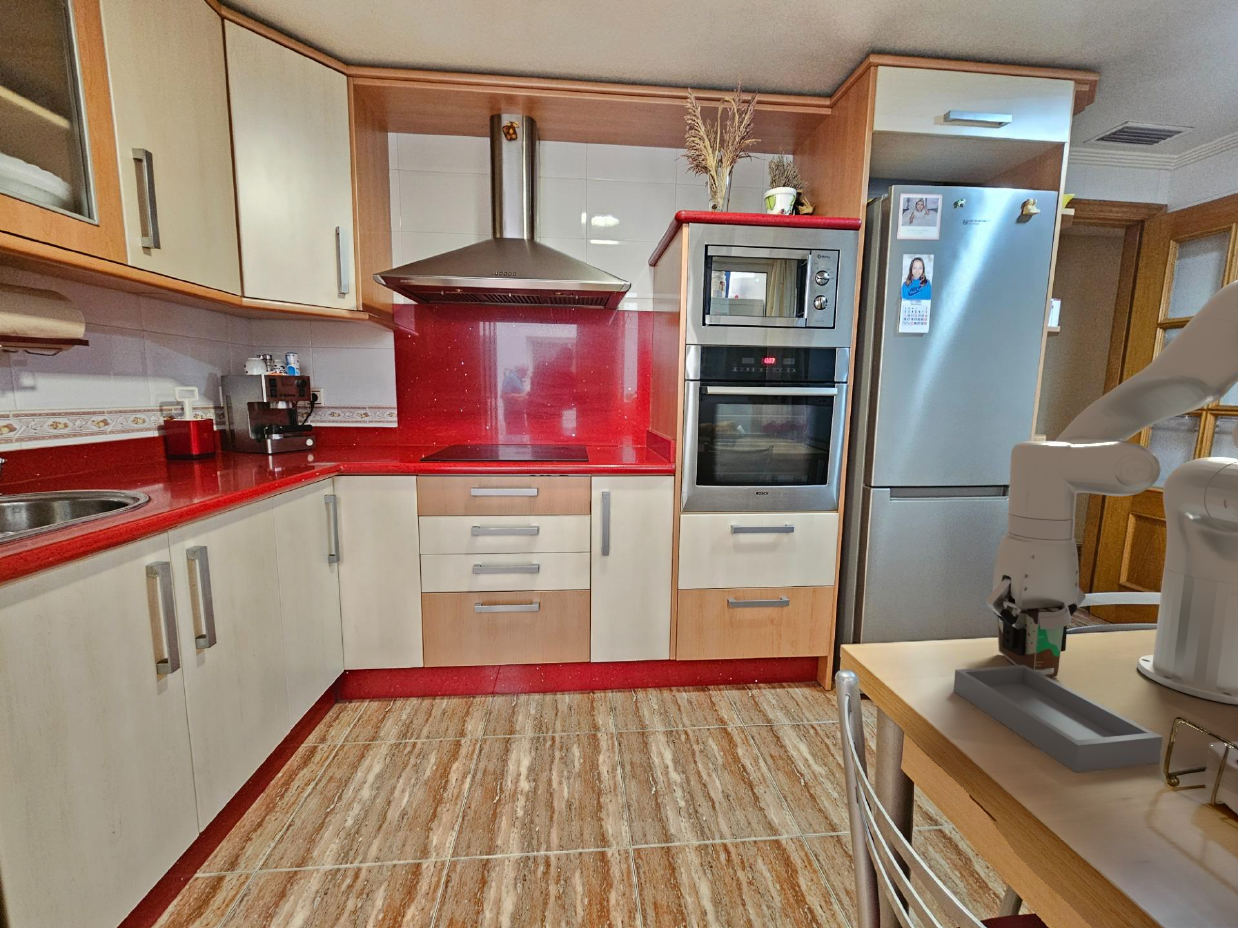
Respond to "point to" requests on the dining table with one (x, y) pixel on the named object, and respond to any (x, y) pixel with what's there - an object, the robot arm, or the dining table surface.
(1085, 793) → the dining table surface
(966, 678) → the tray
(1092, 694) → the dining table surface
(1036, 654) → the food container
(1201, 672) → the robot arm
